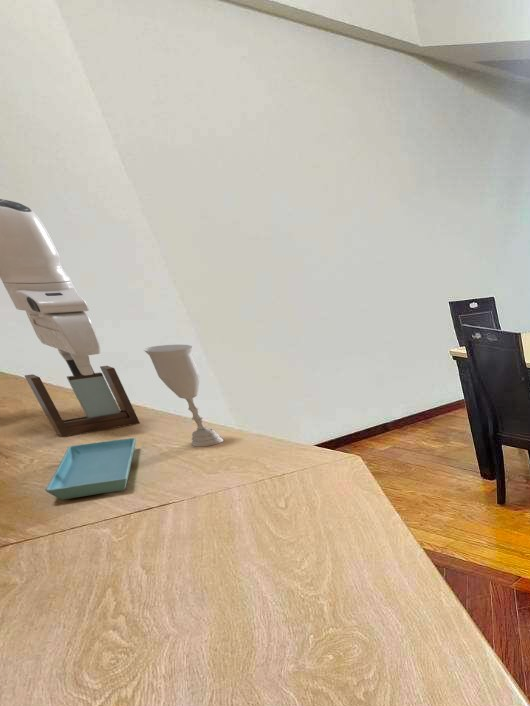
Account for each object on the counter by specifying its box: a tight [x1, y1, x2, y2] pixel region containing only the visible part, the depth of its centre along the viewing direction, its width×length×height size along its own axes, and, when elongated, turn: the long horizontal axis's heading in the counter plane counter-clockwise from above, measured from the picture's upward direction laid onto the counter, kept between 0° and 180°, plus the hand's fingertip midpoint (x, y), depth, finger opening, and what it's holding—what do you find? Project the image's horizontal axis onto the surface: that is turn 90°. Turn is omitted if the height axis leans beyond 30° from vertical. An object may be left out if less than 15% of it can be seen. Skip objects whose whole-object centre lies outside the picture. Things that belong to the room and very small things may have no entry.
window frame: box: [24, 365, 141, 437], centre depth 119 cm, size 12×4×12 cm, turn 149°
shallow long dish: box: [44, 437, 137, 500], centre depth 101 cm, size 26×9×2 cm, turn 39°
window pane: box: [65, 359, 121, 418], centre depth 119 cm, size 5×1×12 cm, turn 149°
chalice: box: [143, 344, 224, 447], centre depth 113 cm, size 7×7×18 cm
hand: (83, 373), depth 118 cm, fingers open, 3 cm apart
